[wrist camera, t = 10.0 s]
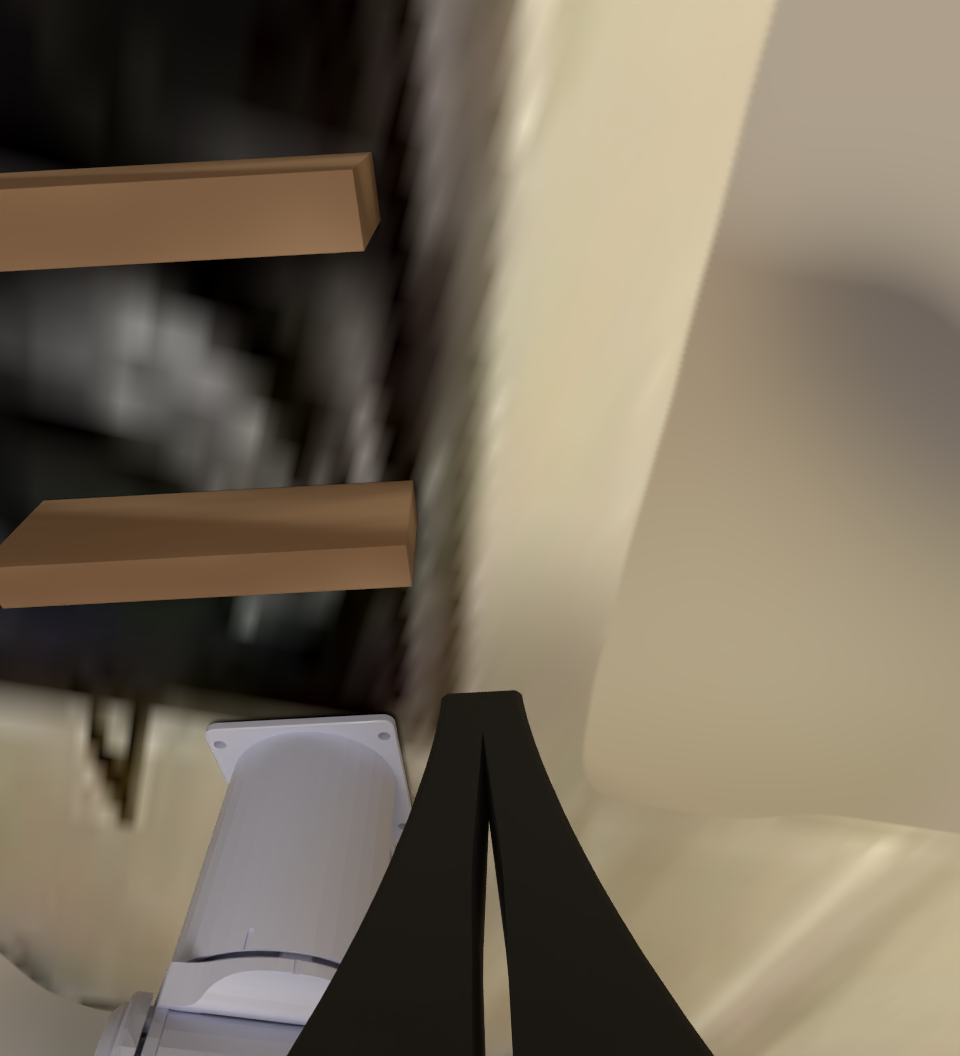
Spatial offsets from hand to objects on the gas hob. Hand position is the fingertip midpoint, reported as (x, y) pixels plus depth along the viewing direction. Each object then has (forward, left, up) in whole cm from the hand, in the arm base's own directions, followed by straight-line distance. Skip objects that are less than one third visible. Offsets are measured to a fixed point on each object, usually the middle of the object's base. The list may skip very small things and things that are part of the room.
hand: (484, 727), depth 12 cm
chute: (+3, +8, -10) cm, 13 cm away
